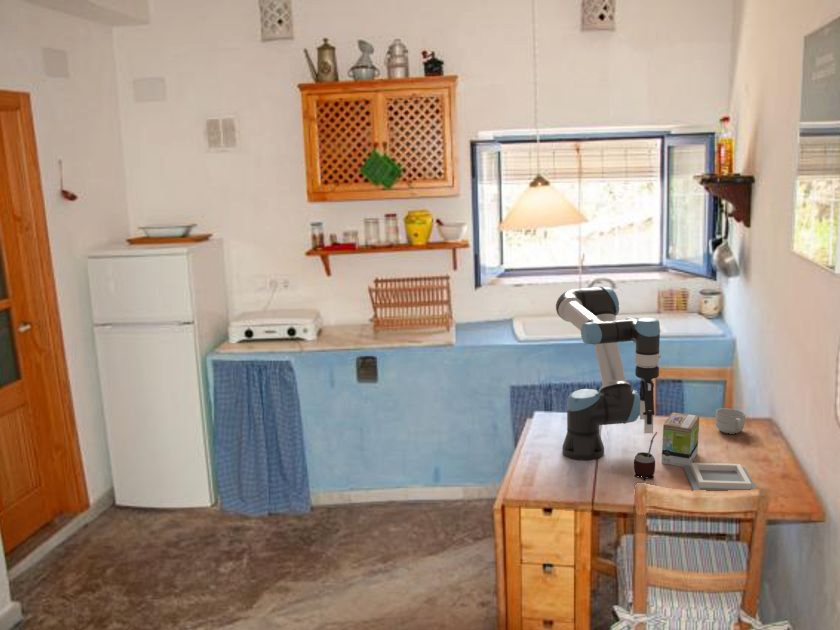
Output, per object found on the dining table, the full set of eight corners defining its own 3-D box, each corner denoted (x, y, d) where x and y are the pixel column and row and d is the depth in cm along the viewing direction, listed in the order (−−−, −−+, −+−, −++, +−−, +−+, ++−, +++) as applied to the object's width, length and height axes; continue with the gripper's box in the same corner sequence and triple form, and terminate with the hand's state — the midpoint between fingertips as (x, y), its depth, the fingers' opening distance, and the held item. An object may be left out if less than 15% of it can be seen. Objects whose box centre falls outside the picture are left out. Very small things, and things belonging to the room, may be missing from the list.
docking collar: (693, 493, 254) (694, 484, 254) (683, 468, 274) (684, 460, 273) (759, 495, 251) (759, 486, 250) (744, 469, 270) (744, 461, 270)
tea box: (690, 468, 274) (691, 428, 270) (660, 463, 278) (661, 424, 275) (698, 453, 286) (699, 414, 283) (670, 449, 291) (671, 411, 288)
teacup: (712, 426, 312) (713, 407, 310) (740, 426, 310) (741, 407, 309) (720, 439, 299) (721, 419, 297) (750, 439, 297) (751, 419, 295)
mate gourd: (633, 480, 266) (633, 438, 263) (634, 471, 273) (634, 430, 270) (656, 482, 264) (657, 440, 260) (656, 472, 271) (657, 431, 268)
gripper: (664, 375, 247) (662, 439, 252) (654, 355, 271) (653, 413, 276) (639, 375, 249) (638, 438, 253) (631, 355, 273) (631, 413, 277)
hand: (646, 425), depth 264 cm, fingers open, 13 cm apart
